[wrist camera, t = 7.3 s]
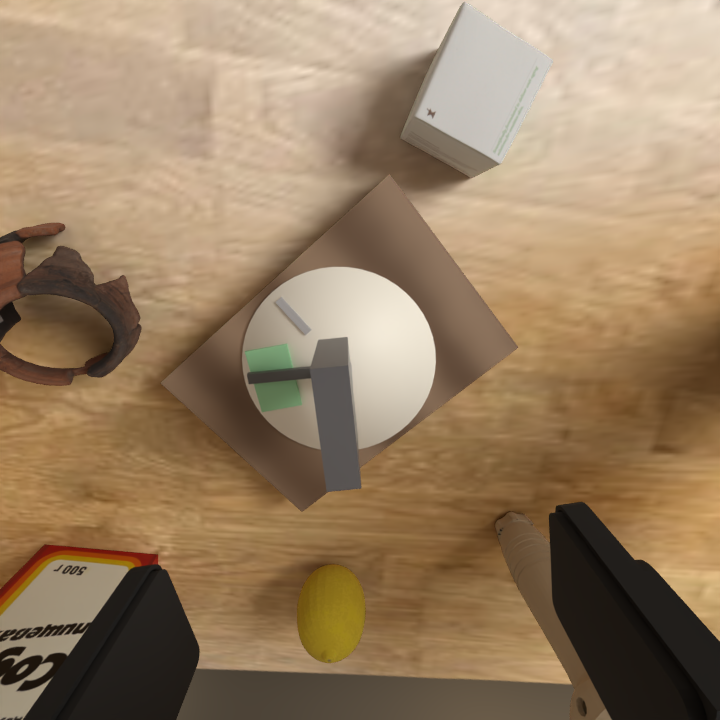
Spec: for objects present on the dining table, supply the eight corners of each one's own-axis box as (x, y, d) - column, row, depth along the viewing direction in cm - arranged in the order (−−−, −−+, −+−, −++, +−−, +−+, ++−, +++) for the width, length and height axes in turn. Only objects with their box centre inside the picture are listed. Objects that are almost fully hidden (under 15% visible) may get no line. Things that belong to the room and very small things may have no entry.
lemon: (290, 560, 34) (275, 652, 26) (343, 534, 33) (342, 620, 26) (323, 600, 36) (317, 698, 28) (374, 575, 35) (382, 668, 27)
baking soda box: (157, 554, 33) (-1, 818, 18) (158, 610, 35) (14, 892, 20) (44, 544, 33) (-222, 810, 17) (51, 602, 34) (-184, 888, 19)
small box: (472, 181, 25) (501, 167, 21) (396, 139, 24) (409, 115, 20) (517, 92, 24) (559, 55, 19) (438, 44, 23) (462, -6, 18)
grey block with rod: (241, 332, 24) (184, 381, 16) (347, 322, 24) (348, 365, 16) (257, 417, 26) (214, 503, 17) (356, 407, 26) (361, 488, 17)
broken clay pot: (99, 194, 25) (83, 241, 19) (168, 308, 32) (172, 369, 26) (-108, 249, 23) (-196, 321, 17) (13, 360, 29) (-22, 439, 24)
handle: (473, 547, 34) (565, 765, 20) (498, 489, 33) (619, 682, 18) (522, 557, 35) (645, 776, 21) (549, 500, 33) (705, 696, 19)
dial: (350, 221, 23) (350, 221, 22) (472, 373, 26) (474, 375, 26) (201, 355, 25) (199, 357, 25) (331, 481, 28) (331, 484, 28)
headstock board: (384, 181, 25) (389, 173, 22) (501, 337, 28) (518, 347, 26) (179, 368, 28) (160, 382, 25) (305, 487, 32) (301, 511, 29)
